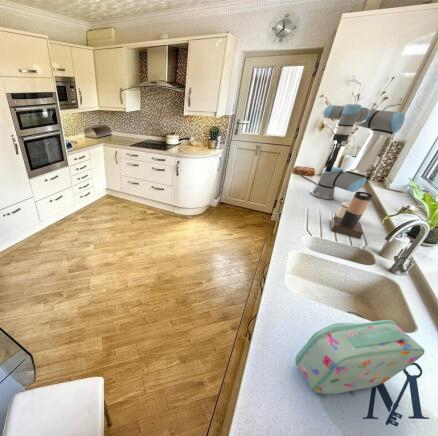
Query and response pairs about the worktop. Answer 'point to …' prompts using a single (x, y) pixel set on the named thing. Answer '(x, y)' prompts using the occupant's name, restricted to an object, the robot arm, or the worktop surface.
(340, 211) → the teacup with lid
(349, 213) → the travel mug
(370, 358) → the lunch box
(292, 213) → the worktop surface
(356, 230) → the block
